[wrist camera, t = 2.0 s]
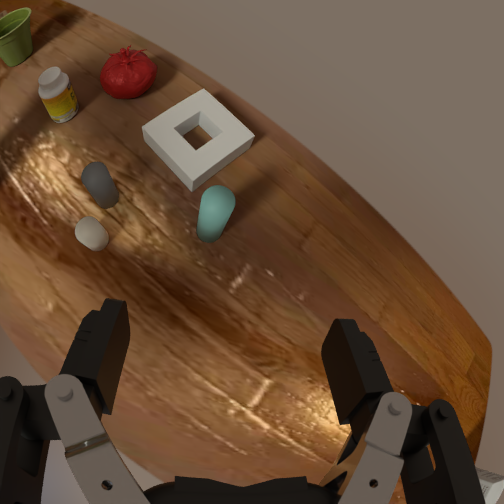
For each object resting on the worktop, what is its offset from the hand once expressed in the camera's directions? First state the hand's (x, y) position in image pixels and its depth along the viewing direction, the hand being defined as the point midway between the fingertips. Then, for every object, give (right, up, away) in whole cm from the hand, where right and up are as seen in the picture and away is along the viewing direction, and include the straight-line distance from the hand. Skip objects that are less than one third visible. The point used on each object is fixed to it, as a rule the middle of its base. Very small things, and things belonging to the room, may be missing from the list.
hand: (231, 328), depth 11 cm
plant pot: (-52, +47, +30) cm, 76 cm away
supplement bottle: (-32, +27, +30) cm, 52 cm away
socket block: (-8, +20, +34) cm, 40 cm away
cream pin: (-21, +5, +28) cm, 36 cm away
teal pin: (-5, +6, +32) cm, 33 cm away
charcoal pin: (-20, +11, +29) cm, 38 cm away
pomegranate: (-21, +32, +34) cm, 51 cm away
